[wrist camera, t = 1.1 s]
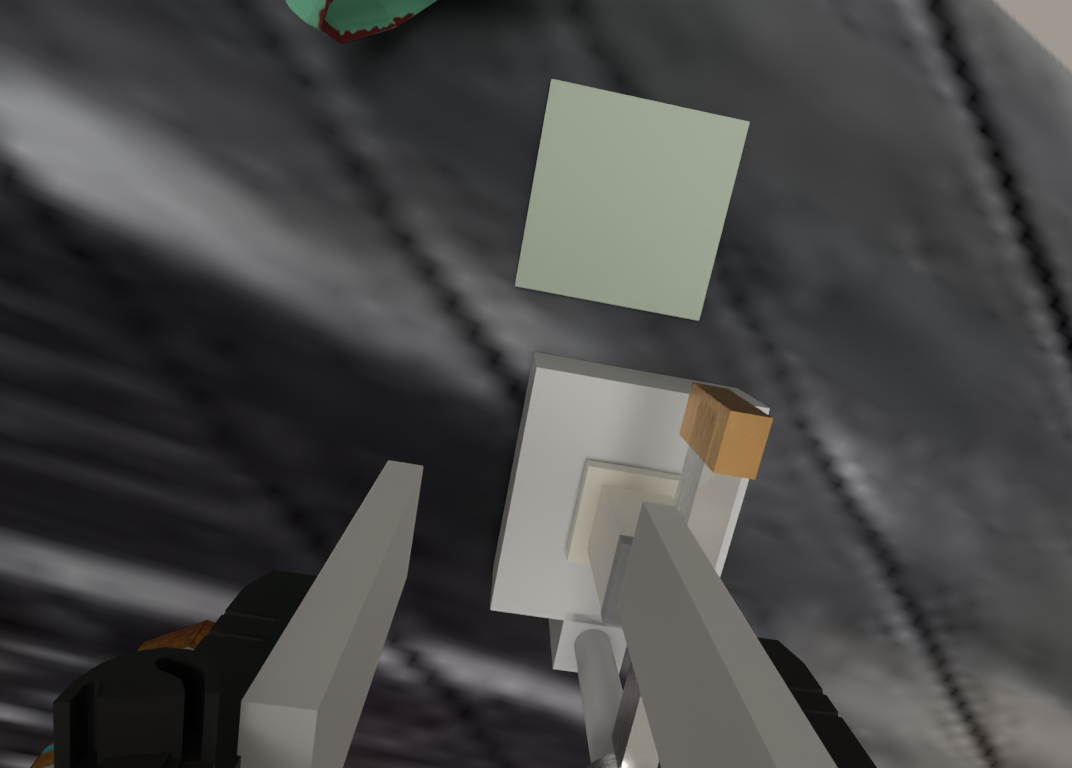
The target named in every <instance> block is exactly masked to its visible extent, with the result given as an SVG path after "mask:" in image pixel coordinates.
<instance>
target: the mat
mask: <svg viewBox="0 0 1072 768" xmlns="http://www.w3.org/2000/svg"><path fill="white" fill-rule="evenodd" d="M749 123H750V122H748V121H743V120H739V119H734V118H729V117H725V116H720V115H716V114H711V113H706V112H702V111H697V110H693V109H688V108H684V107H679V106H674V105H670V104H665V103H661V102H656V101H651V100H647V99H642V98H638V97H633V96H628V95H624V94H619V93H615V92H610V91H606V90H601V89H596V88H592V87H587V86H583V85H578V84H573V83H569V82H564V81H560V80H555V79H551V84H550V89H549V95H548V100H547V106H546V112H545V117H544V123H543V129H542V134H541V140H540V146H539V151H538V157H537V163H536V168H535V174H534V180H533V185H532V191H531V197H530V202H529V208H528V214H527V219H526V225H525V231H524V236H523V242H522V248H521V253H520V259H519V265H518V270H517V276H516V282H515V286H517V287H522V288H527V289H533V290H538V291H543V292H549V293H554V294H559V295H565V296H570V297H575V298H580V299H586V300H591V301H596V302H602V303H607V304H612V305H618V306H623V307H628V308H634V309H639V310H644V311H650V312H655V313H660V314H666V315H671V316H676V317H681V318H687V319H692V320H697V321H699V319H700V315H701V311H702V307H703V303H704V300H705V296H706V292H707V288H708V284H709V280H710V276H711V272H712V268H713V264H714V260H715V256H716V252H717V249H718V245H719V241H720V237H721V233H722V229H723V225H724V221H725V217H726V213H727V209H728V205H729V202H730V198H731V194H732V190H733V186H734V182H735V178H736V174H737V170H738V166H739V162H740V158H741V155H742V151H743V147H744V143H745V139H746V135H747V131H748V127H749Z"/></svg>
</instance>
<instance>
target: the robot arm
mask: <svg viewBox="0 0 1072 768" xmlns="http://www.w3.org/2000/svg"><path fill="white" fill-rule="evenodd" d="M422 473H423V466H421V465H415V464H408V463H402V462H396V461H390V460H388V462H387V464H386V465H385V467H384V468H383V470H382V472H381V473H380V475H379V477H378V478H377V480H376V481H375V483H374V485H373V486H372V488H371V490H370V491H369V493H368V495H367V496H366V498H365V499H364V501H363V503H362V504H361V506H360V508H359V509H358V511H357V513H356V514H355V516H354V517H353V519H352V521H351V522H350V524H349V526H348V527H347V529H346V531H345V532H344V534H343V535H342V537H341V539H340V540H339V542H338V544H337V545H336V547H335V549H334V550H333V552H332V553H331V555H330V557H329V558H328V560H327V562H326V563H325V565H324V567H323V568H322V570H321V571H320V573H319V575H318V576H311V575H304V574H297V573H290V572H283V571H276V570H272V571H270V572H269V573H267V574H265V575H264V576H262V577H260V578H259V579H257V580H255V581H254V582H252V583H250V584H249V585H247V586H245V587H244V588H243V589H242V590H241V592H240V593H239V594H238V595H237V597H236V598H235V599H234V600H233V602H232V603H231V604H230V605H229V607H228V608H227V609H226V611H225V614H224V615H221V616H220V618H219V619H218V620H217V621H216V623H215V624H214V625H213V626H212V628H211V629H210V631H209V634H208V635H205V636H204V637H203V639H202V640H201V641H200V642H199V644H198V645H197V646H196V647H195V649H194V650H191V649H180V648H170V647H161V648H154V649H147V650H141V651H134V652H131V653H128V654H126V655H123V656H120V657H117V658H115V659H112V660H109V661H106V662H103V663H101V664H100V665H98V666H97V667H95V668H93V669H92V670H90V671H88V672H87V673H85V674H84V675H82V676H80V677H79V678H77V679H76V680H74V681H73V682H72V683H71V684H70V685H69V686H68V687H67V688H66V689H65V691H64V692H63V693H62V694H61V695H60V696H59V697H58V698H57V699H56V700H55V701H54V702H53V723H54V768H343V765H344V762H345V759H346V756H347V753H348V750H349V747H350V744H351V741H352V738H353V735H354V732H355V729H356V726H357V723H358V720H359V717H360V714H361V711H362V708H363V705H364V702H365V699H366V696H367V693H368V690H369V687H370V684H371V682H372V679H373V676H374V673H375V670H376V667H377V664H378V661H379V658H380V655H381V652H382V649H383V646H384V643H385V640H386V637H387V634H388V631H389V628H390V625H391V622H392V619H393V616H394V613H395V610H396V607H397V604H398V601H399V598H400V595H401V592H402V590H403V587H404V584H405V581H406V578H407V572H408V566H409V559H410V552H411V546H412V539H413V532H414V526H415V519H416V513H417V506H418V499H419V493H420V486H421V479H422ZM616 608H617V611H618V615H619V618H620V622H621V625H622V629H623V633H624V636H625V640H626V643H627V647H628V650H629V654H630V658H631V661H632V665H633V668H634V672H635V676H636V679H637V683H638V686H639V690H640V693H641V697H642V701H643V704H644V708H645V711H646V715H647V718H648V722H649V726H650V729H651V733H652V736H653V740H654V743H655V747H656V751H657V754H658V758H659V761H660V765H661V768H877V767H876V766H875V764H874V763H873V761H872V760H871V759H870V757H869V756H868V754H867V753H866V751H865V750H864V749H863V747H862V746H861V744H860V743H859V741H858V740H857V738H856V737H855V736H854V734H853V733H852V731H851V730H850V728H849V727H848V726H847V724H846V723H845V721H844V720H843V718H842V717H838V711H837V710H836V708H835V707H834V705H833V704H832V703H831V701H830V700H829V698H828V697H827V695H823V693H822V688H821V687H820V685H819V684H818V682H817V681H816V680H815V678H814V677H813V675H812V674H811V672H810V671H809V670H808V668H807V667H806V665H805V664H804V663H803V662H802V661H801V660H800V659H799V658H797V657H796V656H795V655H794V654H793V653H792V652H791V651H789V650H788V649H787V648H786V647H785V646H784V645H783V644H781V643H780V642H779V641H778V640H771V639H765V638H758V637H756V635H755V634H754V632H753V631H752V629H751V627H750V626H749V624H748V622H747V621H746V619H745V618H744V616H743V614H742V613H741V611H740V610H739V608H738V606H737V605H736V603H735V602H734V600H733V598H732V597H731V595H730V593H729V592H728V590H727V589H726V587H725V585H724V584H723V582H722V581H721V579H720V577H719V576H718V574H717V573H716V571H715V569H714V568H713V566H712V564H711V563H710V561H709V560H708V558H707V556H706V555H705V553H704V552H703V550H702V548H701V547H700V545H699V544H698V542H697V540H696V539H695V537H694V535H693V534H692V532H691V531H690V529H689V527H688V526H687V524H686V523H685V521H684V519H683V518H682V516H681V515H680V513H679V511H678V510H677V508H676V506H670V505H663V504H657V503H651V502H645V501H643V503H642V507H641V511H640V515H639V519H638V523H637V526H636V530H635V534H634V538H633V542H632V546H631V550H630V554H629V558H628V562H627V566H626V570H625V574H624V578H623V582H622V586H621V590H620V594H619V598H618V602H617V606H616Z"/></svg>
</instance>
